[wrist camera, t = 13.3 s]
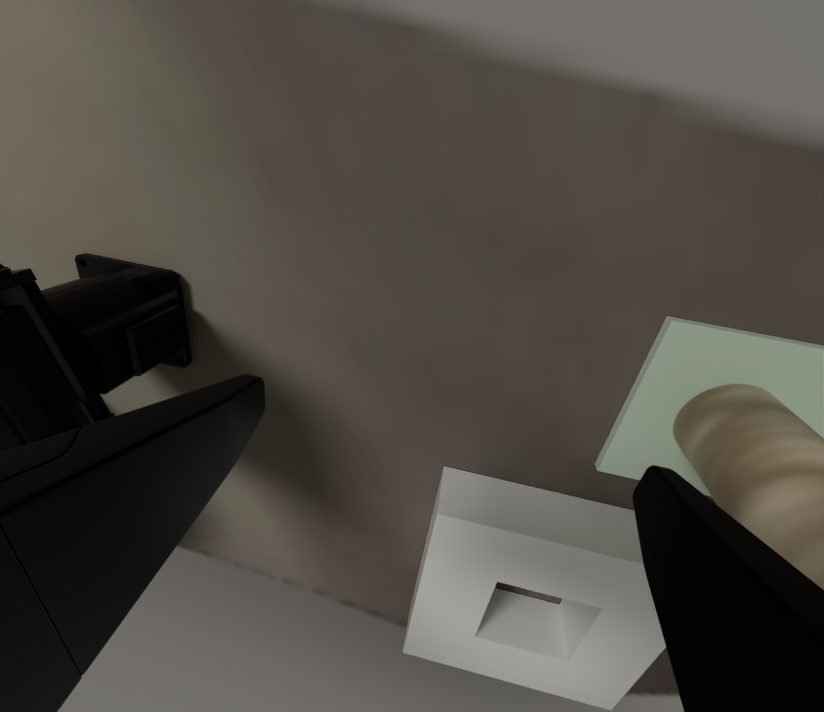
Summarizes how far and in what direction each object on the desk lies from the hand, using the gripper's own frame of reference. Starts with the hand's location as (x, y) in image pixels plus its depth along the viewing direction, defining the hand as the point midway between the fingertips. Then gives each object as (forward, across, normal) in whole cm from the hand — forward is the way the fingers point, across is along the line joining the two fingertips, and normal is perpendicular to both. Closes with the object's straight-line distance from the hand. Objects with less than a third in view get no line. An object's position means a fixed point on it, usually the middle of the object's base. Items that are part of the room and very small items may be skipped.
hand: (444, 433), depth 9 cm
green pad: (+13, -15, +5) cm, 20 cm away
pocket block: (+13, -9, +21) cm, 26 cm away
